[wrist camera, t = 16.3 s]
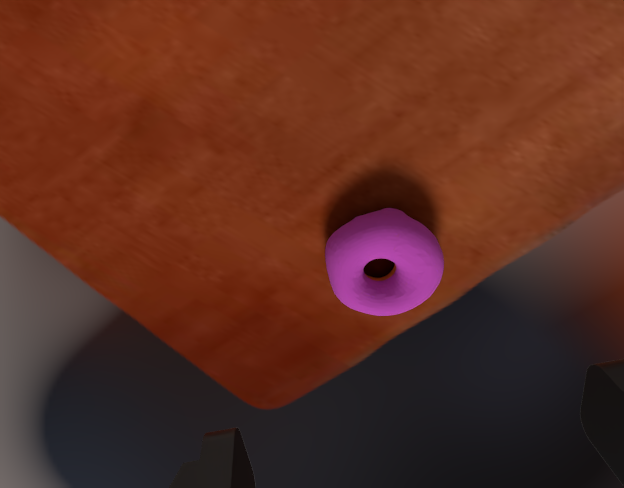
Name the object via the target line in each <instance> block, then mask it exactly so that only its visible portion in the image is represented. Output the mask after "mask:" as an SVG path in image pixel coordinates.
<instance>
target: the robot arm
mask: <svg viewBox="0 0 624 488" xmlns="http://www.w3.org/2000/svg"><path fill="white" fill-rule="evenodd" d="M580 417H581V422H582V426H583V428H584V431H585V433H586V435H587V437H588V439H589V440H590V441H591V443H592V444H593V446H594V447H595V448H596V450H597V451H598V452H599V454H600V455H601V456H602V458H603V459H604V460H605V462H606V463H607V464H608V466H609V467H610V468H611V470H612V471H613V473H614V474H615V475H616V477H617V478H618V479H619V481H620V482H621V483H622V485H623V486H624V359H621V360H615V361H610V362H605V363H599V364H593V365H590V366H589V367H588V369H587V372H586V378H585V385H584V391H583V397H582V403H581V410H580ZM169 488H256V486H255V479H254V473H253V469H252V466H251V463H250V460H249V457H248V453H247V450H246V447H245V444H244V441H243V438H242V435H241V432H240V430H239V428H232V429H227V430H221V431H215V432H210V433H206V434H205V435H204V437H203V441H202V449H201V455H200V460H197V461H192V462H187V463H183V465H182V466H181V468H180V470H179V471H178V473H177V475H176V477H175V478H174V480H173V482H172V483H171V485H170V487H169Z"/></svg>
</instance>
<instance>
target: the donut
mask: <svg viewBox="0 0 624 488" xmlns="http://www.w3.org/2000/svg"><path fill="white" fill-rule="evenodd" d="M325 257H326V266H327V272H328V275H329V279H330V283H331V286H332V289H333V291H334V293H335V295H336V296H337V297H338V299H339V300H340V301H341V302H342V303H343V304H345V305H346V306H348V307H349V308H352V309H354V310H356V311H359V312H363V313H367V314H371V315H378V316H388V315H395V314H399V313H403V312H406V311H408V310H410V309H413V308H414V307H416V306H418V305H419V304H421V303H422V302H424V301H425V300H426V299H427V298H429V297H430V296H431V295H432V294H433V292H434V291H435V289H436V288H437V286H438V284H439V282H440V280H441V277H442V274H443V269H444V260H443V254H442V250H441V248H440V246H439V243H438V241H437V239H436V237H435V236H434V235H433V234H432V232H431V231H430V230H429V229H428V228H426V227H425V226H424V225H423V224H421V223H420V222H418V221H416V220H414V219H412V218H411V217H409V216H407V215H406V214H405V213H404V212H403V211H401V210H398V209H393V208H384V209H382V210H379V211H375V212H371V213H368V214H365V215H361V216H357V217H355V218H354V219H353V220H352V221H350V222H348V223H346V224H345V225H343V226H341V227H340V228H339V229H338V230H336V231H335V232H334V233H333V234H332V235H331V236H330V238H329V239H328V241H327V244H326V248H325ZM380 258H383V259H388V260H391V261H392V262H394V263H395V265H394V268H393V269H392V271H391V272H390V273H389V274H388V275H386V276H384V277H380V278H376V277H371V276H368V275H366V274H365V273H364V266H365V265H366V264H367V263H368V262H369V261H371V260H374V259H380Z"/></svg>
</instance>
